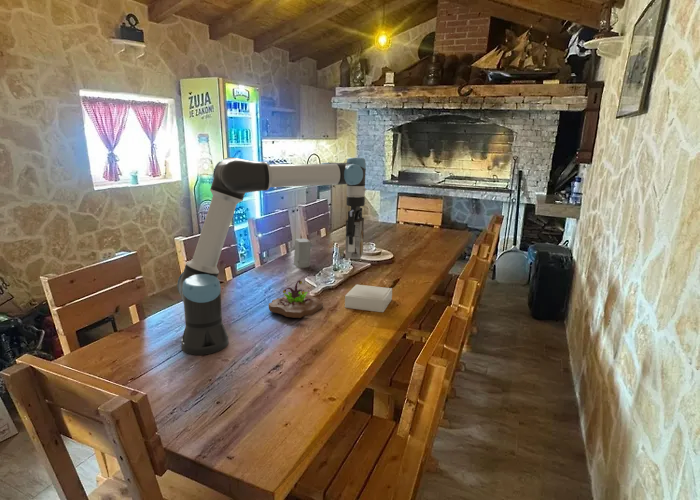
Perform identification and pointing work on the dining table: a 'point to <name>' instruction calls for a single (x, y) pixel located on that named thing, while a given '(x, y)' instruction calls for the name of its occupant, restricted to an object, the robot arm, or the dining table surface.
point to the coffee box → (356, 240)
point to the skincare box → (302, 253)
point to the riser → (368, 298)
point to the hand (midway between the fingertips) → (354, 249)
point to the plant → (295, 303)
